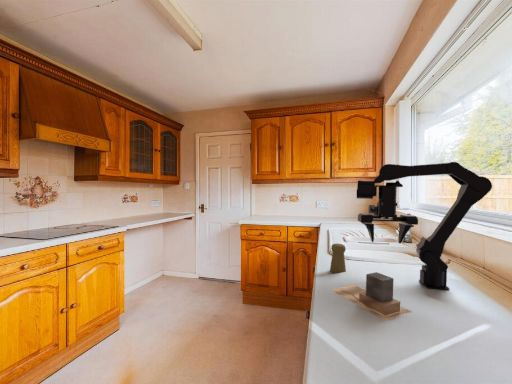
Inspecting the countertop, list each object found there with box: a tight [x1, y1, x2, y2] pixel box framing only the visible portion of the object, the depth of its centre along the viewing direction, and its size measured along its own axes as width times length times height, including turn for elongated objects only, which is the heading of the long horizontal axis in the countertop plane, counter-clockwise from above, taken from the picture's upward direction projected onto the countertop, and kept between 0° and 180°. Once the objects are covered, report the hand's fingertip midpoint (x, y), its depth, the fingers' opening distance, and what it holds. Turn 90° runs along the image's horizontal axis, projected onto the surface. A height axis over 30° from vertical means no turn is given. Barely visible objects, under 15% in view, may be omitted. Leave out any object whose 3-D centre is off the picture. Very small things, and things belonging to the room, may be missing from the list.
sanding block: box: [359, 271, 401, 317], centre depth 66 cm, size 8×6×8 cm
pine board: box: [330, 284, 413, 321], centre depth 70 cm, size 19×10×1 cm, turn 26°
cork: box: [329, 243, 347, 275], centre depth 96 cm, size 6×6×11 cm
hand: (385, 242), depth 90 cm, fingers open, 9 cm apart
